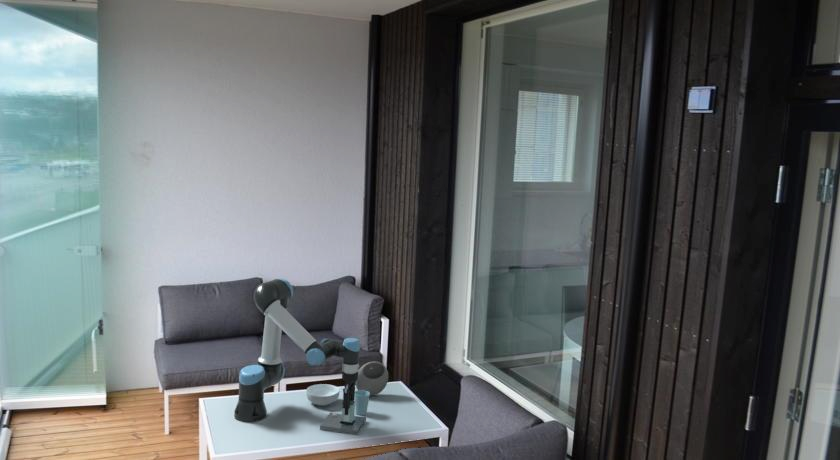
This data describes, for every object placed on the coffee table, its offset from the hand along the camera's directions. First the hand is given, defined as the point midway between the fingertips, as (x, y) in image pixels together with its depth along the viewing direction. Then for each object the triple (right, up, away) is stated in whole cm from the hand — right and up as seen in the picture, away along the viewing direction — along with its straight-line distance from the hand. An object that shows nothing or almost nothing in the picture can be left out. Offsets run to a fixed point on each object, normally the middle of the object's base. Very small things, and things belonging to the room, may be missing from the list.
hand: (347, 418), depth 331 cm
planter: (+8, +1, +40) cm, 41 cm away
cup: (+5, -2, +17) cm, 18 cm away
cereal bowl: (-16, +1, +26) cm, 31 cm away
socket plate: (-2, -3, +1) cm, 4 cm away
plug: (0, -1, 0) cm, 1 cm away
